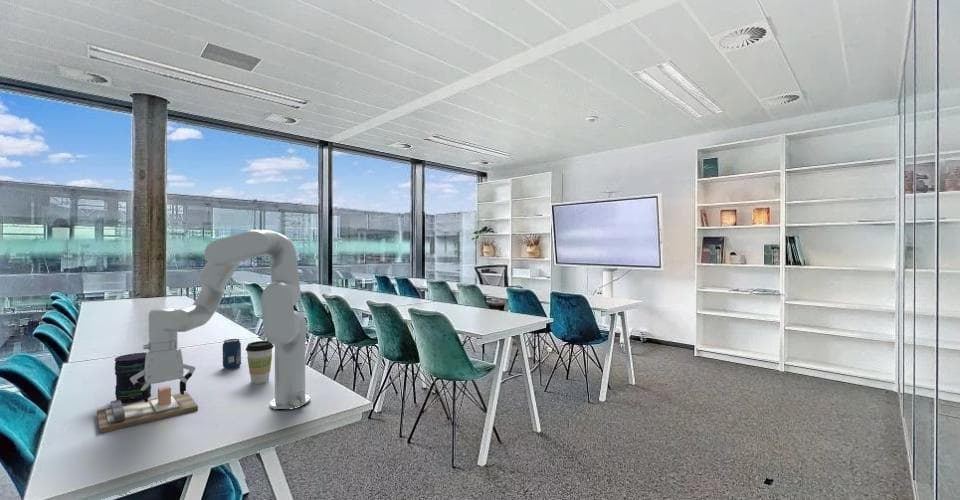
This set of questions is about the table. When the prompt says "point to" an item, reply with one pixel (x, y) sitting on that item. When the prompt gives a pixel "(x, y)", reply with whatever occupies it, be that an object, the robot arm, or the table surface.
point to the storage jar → (124, 371)
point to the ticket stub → (164, 400)
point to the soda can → (231, 354)
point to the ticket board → (140, 412)
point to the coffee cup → (259, 360)
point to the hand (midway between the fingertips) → (164, 397)
